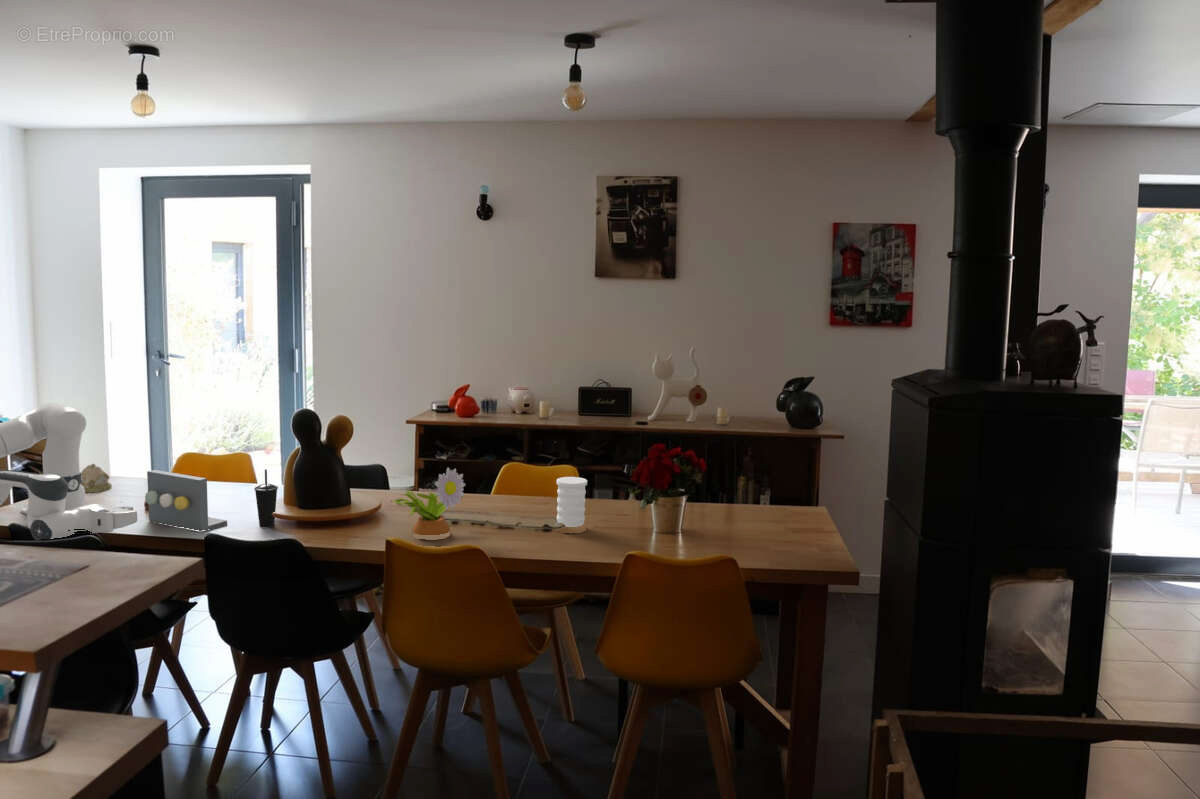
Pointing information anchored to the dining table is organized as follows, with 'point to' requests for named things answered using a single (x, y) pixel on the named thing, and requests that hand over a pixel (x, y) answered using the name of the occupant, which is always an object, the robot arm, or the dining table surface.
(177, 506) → the button mustard
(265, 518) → the drinking cup
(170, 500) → the button cream
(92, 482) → the ceramic model
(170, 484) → the button panel
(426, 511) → the decorative plant
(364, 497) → the dining table surface
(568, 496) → the decorative container
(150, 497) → the button sage
